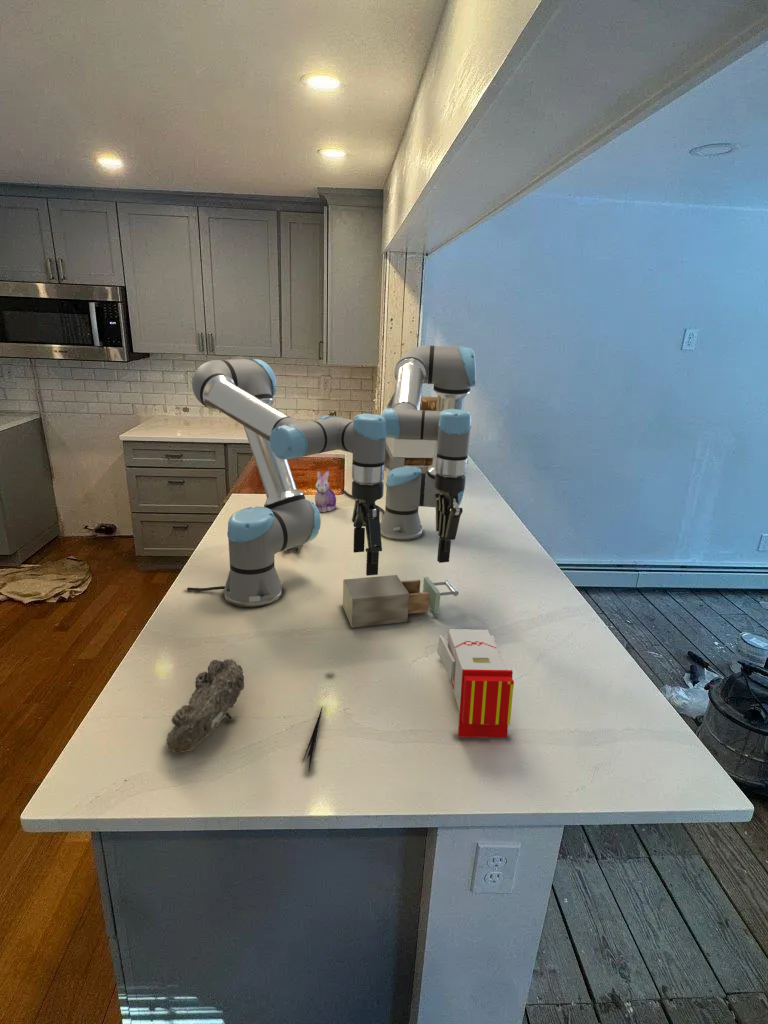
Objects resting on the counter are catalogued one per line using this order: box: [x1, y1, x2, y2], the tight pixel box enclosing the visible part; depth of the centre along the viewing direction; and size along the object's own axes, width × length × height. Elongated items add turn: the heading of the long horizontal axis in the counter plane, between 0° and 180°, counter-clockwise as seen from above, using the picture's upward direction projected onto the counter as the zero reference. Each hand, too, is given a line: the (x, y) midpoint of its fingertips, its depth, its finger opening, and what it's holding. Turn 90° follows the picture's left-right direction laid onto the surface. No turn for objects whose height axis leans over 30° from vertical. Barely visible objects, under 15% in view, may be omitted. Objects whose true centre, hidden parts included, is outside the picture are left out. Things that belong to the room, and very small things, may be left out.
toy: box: [437, 628, 515, 738], centre depth 117 cm, size 12×13×30 cm
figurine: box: [314, 470, 337, 513], centre depth 218 cm, size 9×10×15 cm
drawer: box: [400, 576, 460, 615], centre depth 149 cm, size 19×10×6 cm, turn 106°
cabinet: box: [342, 574, 409, 629], centre depth 146 cm, size 14×11×8 cm
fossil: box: [166, 658, 245, 754], centre depth 106 cm, size 22×10×15 cm
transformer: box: [384, 393, 438, 472], centre depth 268 cm, size 34×33×41 cm
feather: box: [301, 673, 332, 771], centre depth 108 cm, size 2×28×2 cm
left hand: (365, 562), depth 141 cm, fingers open, 13 cm apart
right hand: (443, 561), depth 147 cm, fingers closed
